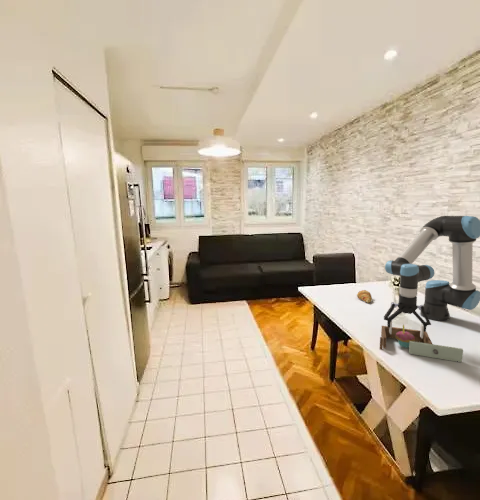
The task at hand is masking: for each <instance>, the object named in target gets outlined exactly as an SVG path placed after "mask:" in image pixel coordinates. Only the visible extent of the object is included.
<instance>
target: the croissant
mask: <svg viewBox="0 0 480 500" xmlns="http://www.w3.org/2000/svg"><path fill="white" fill-rule="evenodd" d="M356 297H357V298H358V300H360V299H361V300H360V301H362V300H363V302H364V301H365V303H366V302H367V303H368V304H369V303H371V302H372V298H373V297H372V294H371V292H370V291H368V290H366V289H364V290H363V289H362V290H359V291H358V293H357V294H356ZM367 303H366V304H367Z"/></svg>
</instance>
